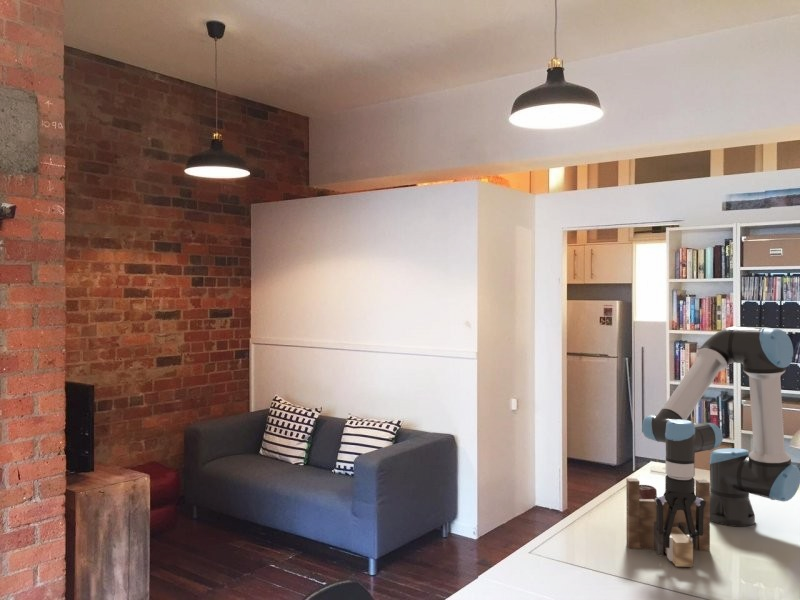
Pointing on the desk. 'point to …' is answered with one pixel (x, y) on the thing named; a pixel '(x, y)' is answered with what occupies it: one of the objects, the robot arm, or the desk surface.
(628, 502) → the wooden u-shaped stand
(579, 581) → the desk surface
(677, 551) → the tan rectangular block
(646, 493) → the can
